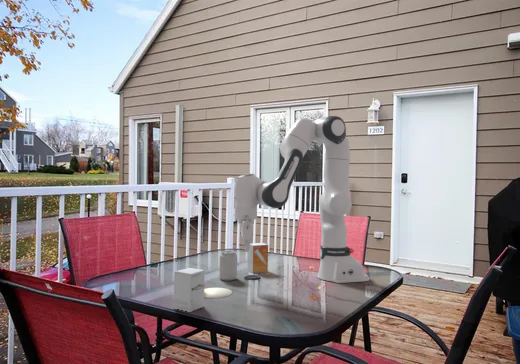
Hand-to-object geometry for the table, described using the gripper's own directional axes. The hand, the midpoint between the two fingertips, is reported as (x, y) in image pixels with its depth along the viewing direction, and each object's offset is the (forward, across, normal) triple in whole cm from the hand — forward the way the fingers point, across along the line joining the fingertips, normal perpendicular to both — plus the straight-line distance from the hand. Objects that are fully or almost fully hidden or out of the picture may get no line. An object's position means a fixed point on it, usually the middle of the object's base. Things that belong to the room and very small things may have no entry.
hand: (246, 249), depth 153 cm
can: (+16, +16, +7) cm, 23 cm away
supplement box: (+15, -22, +21) cm, 34 cm away
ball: (+12, -6, +19) cm, 23 cm away
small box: (+16, +29, -7) cm, 34 cm away
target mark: (+15, -6, +12) cm, 21 cm away
